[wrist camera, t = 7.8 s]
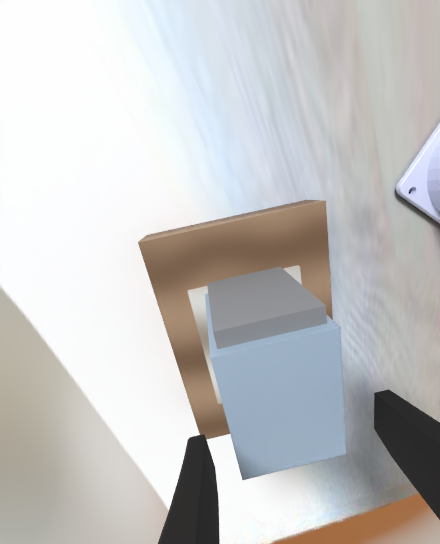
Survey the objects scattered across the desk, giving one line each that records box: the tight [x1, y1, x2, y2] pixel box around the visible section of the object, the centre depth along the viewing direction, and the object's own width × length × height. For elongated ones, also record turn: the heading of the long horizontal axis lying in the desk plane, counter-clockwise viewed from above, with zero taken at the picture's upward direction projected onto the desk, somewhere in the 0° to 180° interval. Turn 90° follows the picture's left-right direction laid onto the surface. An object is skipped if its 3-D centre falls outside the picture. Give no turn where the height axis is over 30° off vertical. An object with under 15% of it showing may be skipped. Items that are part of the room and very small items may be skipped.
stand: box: [138, 200, 333, 439], centre depth 17 cm, size 16×11×3 cm
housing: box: [205, 267, 346, 480], centre depth 13 cm, size 8×5×6 cm, turn 12°
